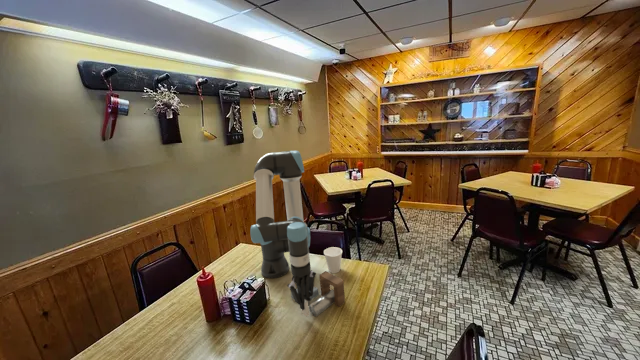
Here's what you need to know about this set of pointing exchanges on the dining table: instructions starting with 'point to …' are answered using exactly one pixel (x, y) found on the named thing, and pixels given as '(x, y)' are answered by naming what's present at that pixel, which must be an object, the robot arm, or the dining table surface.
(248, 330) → the dining table surface
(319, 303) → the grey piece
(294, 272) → the robot arm
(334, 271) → the cup
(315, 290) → the cradle
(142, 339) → the dining table surface
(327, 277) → the brown arch block
